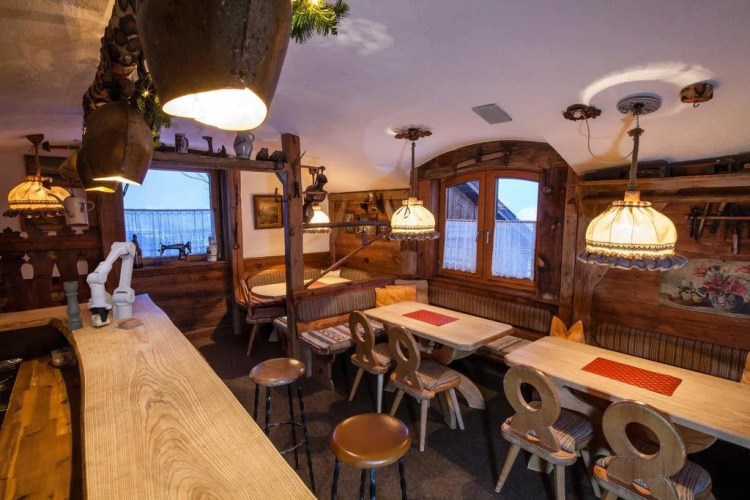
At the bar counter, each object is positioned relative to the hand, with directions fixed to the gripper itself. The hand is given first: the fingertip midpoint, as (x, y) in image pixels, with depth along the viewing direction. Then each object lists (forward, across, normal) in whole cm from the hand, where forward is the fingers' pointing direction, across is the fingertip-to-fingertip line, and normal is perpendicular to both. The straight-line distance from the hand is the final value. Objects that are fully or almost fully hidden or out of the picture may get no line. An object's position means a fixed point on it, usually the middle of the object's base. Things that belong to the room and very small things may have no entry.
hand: (101, 321), depth 194 cm
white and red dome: (+5, -40, +29) cm, 50 cm away
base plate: (+5, +12, +6) cm, 14 cm away
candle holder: (+5, -15, -3) cm, 16 cm away
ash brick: (+2, 0, 0) cm, 2 cm away
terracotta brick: (+3, +12, +6) cm, 14 cm away
